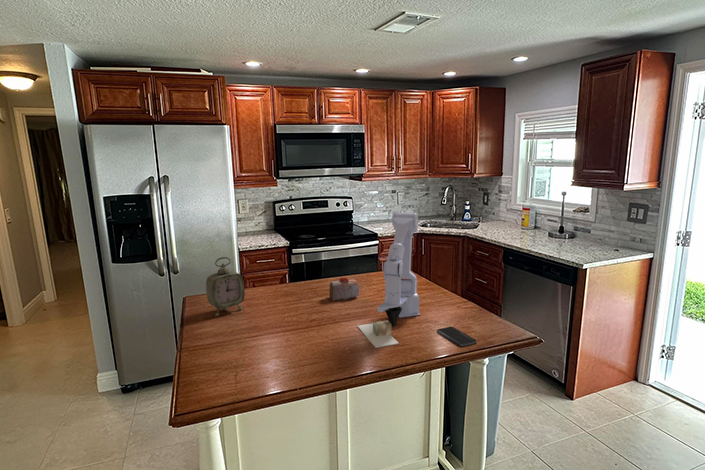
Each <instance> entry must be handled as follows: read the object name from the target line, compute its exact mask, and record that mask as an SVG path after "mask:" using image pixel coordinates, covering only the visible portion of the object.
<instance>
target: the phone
mask: <svg viewBox="0 0 705 470" xmlns="http://www.w3.org/2000/svg"><path fill="white" fill-rule="evenodd" d="M436 333H437V334H439V335H440V336H442V337H444V338H445V339H447V340H448V341H449V342H451V343H452V344H454V345H456V346H457V347H459V348H465V347H469V346H472V345H476V344H477V342H478V340H477V339H475V338H473V337H471V336H470V335H468V334H466V333H465V332H464V331H463V332H462V331H461V330H459V328H458V329H457V328H456V327H454V326H448V327H447V326H446V327H443V328H437V329H436Z"/></svg>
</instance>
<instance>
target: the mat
mask: <svg viewBox="0 0 705 470" xmlns="http://www.w3.org/2000/svg"><path fill="white" fill-rule="evenodd" d="M357 328H358V329H359V330H360V332H362V334H363V335H364V336H365V337H366V338H367V339H368V341H369V342H370V343H371V344H372V345H373V347H374V348H375V349H379V348H384V347H390V346H395V345H396V346H397V345H399V344H400V343H399V341H397V340H396V339H395V337H393V336H392V334H388V335H382V336H376V335H375V334H374V333H373V322H372V323H367V324H361V325H360V324H359V325H357Z"/></svg>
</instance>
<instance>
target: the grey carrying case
mask: <svg viewBox="0 0 705 470" xmlns="http://www.w3.org/2000/svg"><path fill="white" fill-rule="evenodd" d="M328 295H329V298H330V300H332V301H341V300H349V299H353V298H357V297H358V296H359V295H360V284H359V283H358V281H357V280H356V279H354V278H353V279H348V278H347V277H341V278H339V280H335V281H330V283H329V294H328Z"/></svg>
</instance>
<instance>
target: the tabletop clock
mask: <svg viewBox="0 0 705 470" xmlns="http://www.w3.org/2000/svg"><path fill="white" fill-rule="evenodd" d="M224 259H226V260H229V262H228V263H226V264H225V263H221V265H219V264H218V263H217V262H218V261H220V260H224ZM231 262H232V261H231V258H230V257H228V256H221V257H218V258H217V259H216V261H215V263H214V264H215V266H216V267H217V268H219V269H218V270H217V272H215V273H212V274H210V275H208V276H207V278H206V282H205V291H206V298H207V301H208V303H209V304H210V305H211V306H213V307H214V308H216V310H217V311H216V312H215V315H214V316H215V317H219V316H220V313H219V312H220V310H221V309H222V311H223V312H224V311H227V308H232V307H234V306H236V307H238V310H239V311H241V310H242V309H243V306H240V304H241V303H243V302H244V300H245V289H246V288H245V281H244V277H243V275H242V274H240V273H238V272H236V271H233V270H230V269H229V268H228V267H227V266H229V265H230V264H231Z"/></svg>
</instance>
